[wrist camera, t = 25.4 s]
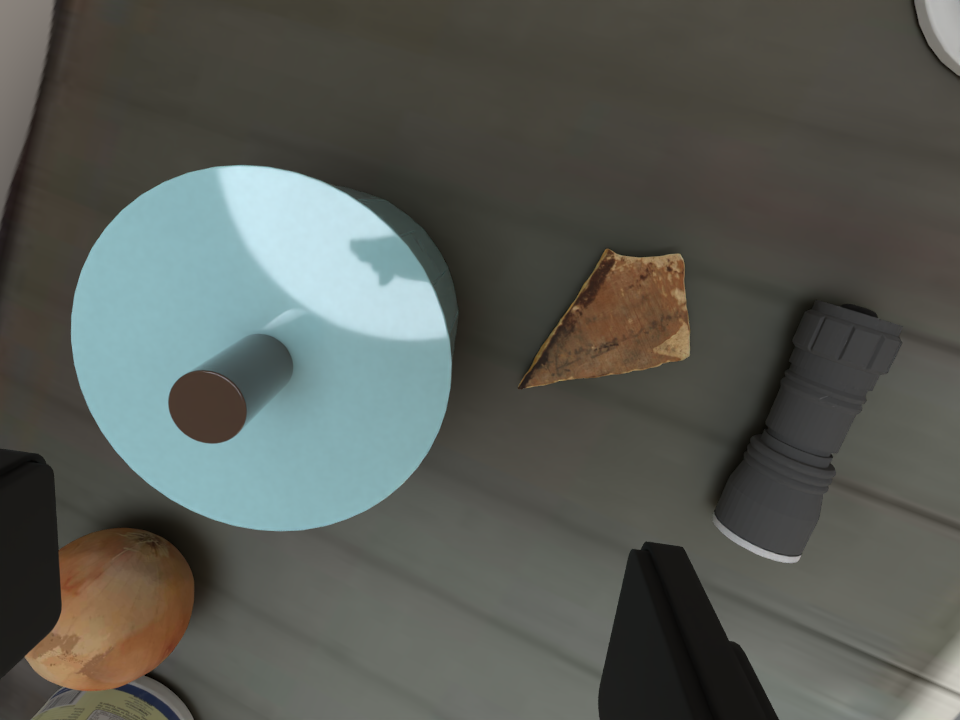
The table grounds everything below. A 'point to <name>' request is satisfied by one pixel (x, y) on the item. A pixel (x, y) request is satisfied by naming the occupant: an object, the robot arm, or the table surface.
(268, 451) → the lid
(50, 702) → the supplement tub
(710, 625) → the robot arm
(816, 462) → the flashlight
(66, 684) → the onion
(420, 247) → the pot
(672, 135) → the table surface
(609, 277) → the shard
